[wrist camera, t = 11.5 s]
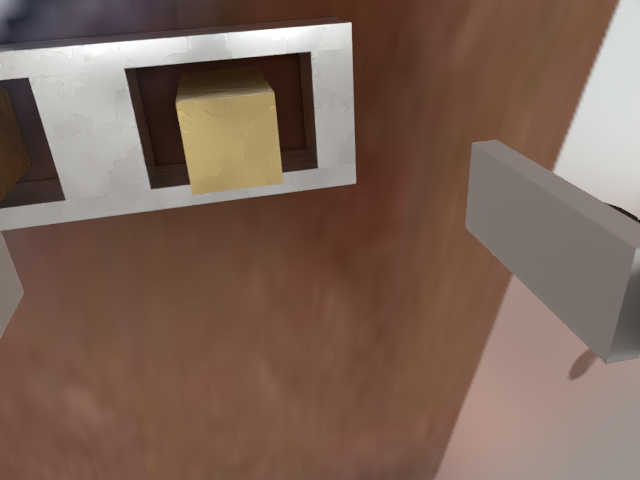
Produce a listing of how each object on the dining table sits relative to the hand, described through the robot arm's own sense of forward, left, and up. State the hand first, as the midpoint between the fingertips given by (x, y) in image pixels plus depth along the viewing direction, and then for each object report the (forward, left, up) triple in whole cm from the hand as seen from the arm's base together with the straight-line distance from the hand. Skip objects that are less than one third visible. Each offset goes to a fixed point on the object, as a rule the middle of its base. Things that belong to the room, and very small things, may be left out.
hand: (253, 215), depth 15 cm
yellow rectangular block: (+1, 0, -19) cm, 19 cm away
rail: (+1, -7, -19) cm, 20 cm away
